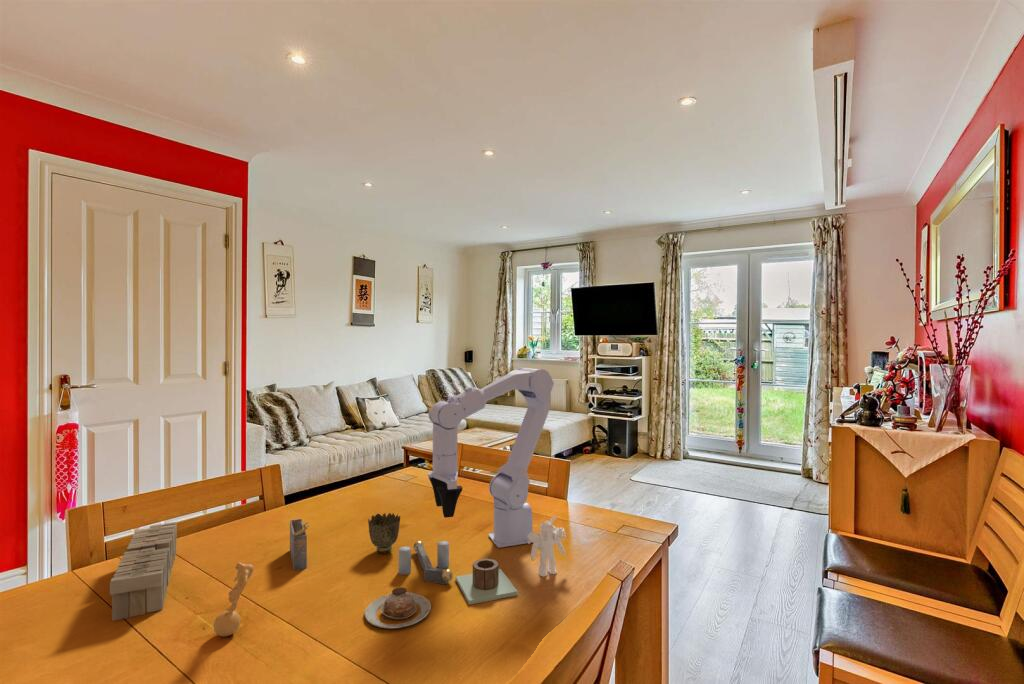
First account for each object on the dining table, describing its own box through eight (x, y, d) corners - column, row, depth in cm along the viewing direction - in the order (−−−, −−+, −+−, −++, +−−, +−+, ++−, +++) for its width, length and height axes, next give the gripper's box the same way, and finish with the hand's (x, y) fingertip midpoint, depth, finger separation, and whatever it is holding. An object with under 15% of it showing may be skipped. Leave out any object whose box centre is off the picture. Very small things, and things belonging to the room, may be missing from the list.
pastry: (398, 642, 84) (398, 615, 84) (350, 620, 90) (350, 595, 90) (443, 609, 94) (444, 585, 94) (397, 591, 100) (398, 569, 100)
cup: (391, 559, 113) (391, 525, 113) (362, 556, 115) (362, 522, 115) (405, 546, 121) (405, 513, 120) (377, 543, 122) (377, 511, 122)
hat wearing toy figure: (561, 565, 111) (561, 512, 111) (569, 573, 108) (570, 518, 107) (524, 572, 108) (524, 517, 108) (531, 580, 104) (532, 523, 104)
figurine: (214, 625, 87) (214, 557, 87) (252, 616, 90) (252, 550, 90) (212, 651, 80) (212, 578, 80) (254, 640, 83) (254, 569, 83)
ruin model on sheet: (308, 569, 109) (308, 525, 109) (293, 572, 108) (293, 528, 108) (303, 549, 119) (303, 509, 119) (289, 552, 118) (289, 511, 118)
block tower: (136, 564, 112) (107, 627, 87) (136, 527, 113) (107, 578, 87) (178, 557, 116) (162, 614, 91) (177, 521, 116) (161, 568, 91)
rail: (435, 548, 120) (435, 536, 119) (454, 584, 102) (454, 571, 102) (411, 551, 118) (411, 540, 117) (427, 589, 100) (427, 575, 100)
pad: (500, 572, 108) (500, 568, 108) (517, 595, 98) (517, 591, 98) (455, 580, 104) (455, 576, 104) (469, 604, 95) (469, 600, 95)
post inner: (447, 562, 112) (447, 540, 112) (450, 567, 110) (450, 545, 110) (436, 564, 111) (436, 542, 111) (438, 569, 109) (438, 546, 109)
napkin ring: (493, 576, 104) (493, 557, 104) (501, 587, 100) (501, 567, 100) (470, 580, 102) (470, 560, 102) (477, 591, 98) (477, 571, 98)
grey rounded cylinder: (409, 568, 109) (409, 545, 109) (411, 573, 107) (411, 550, 107) (397, 570, 108) (397, 547, 108) (399, 575, 106) (399, 552, 106)
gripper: (422, 447, 121) (421, 503, 121) (434, 462, 107) (434, 524, 107) (450, 445, 123) (450, 499, 124) (466, 459, 110) (465, 520, 110)
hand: (444, 511), depth 116 cm, fingers open, 7 cm apart
